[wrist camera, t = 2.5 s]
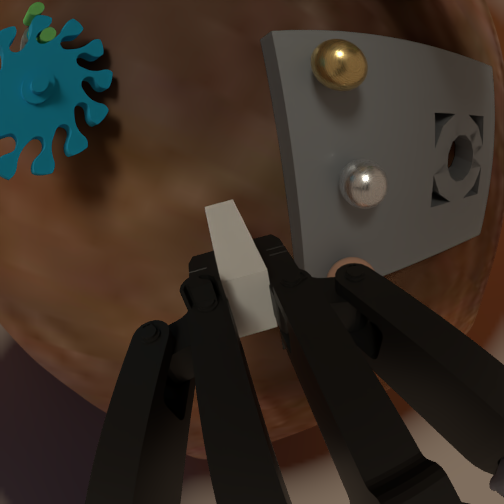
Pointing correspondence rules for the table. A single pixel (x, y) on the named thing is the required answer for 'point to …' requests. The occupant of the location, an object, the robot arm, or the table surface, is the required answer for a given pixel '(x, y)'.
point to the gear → (46, 90)
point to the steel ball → (363, 183)
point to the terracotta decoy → (346, 261)
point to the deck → (381, 149)
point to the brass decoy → (339, 65)
